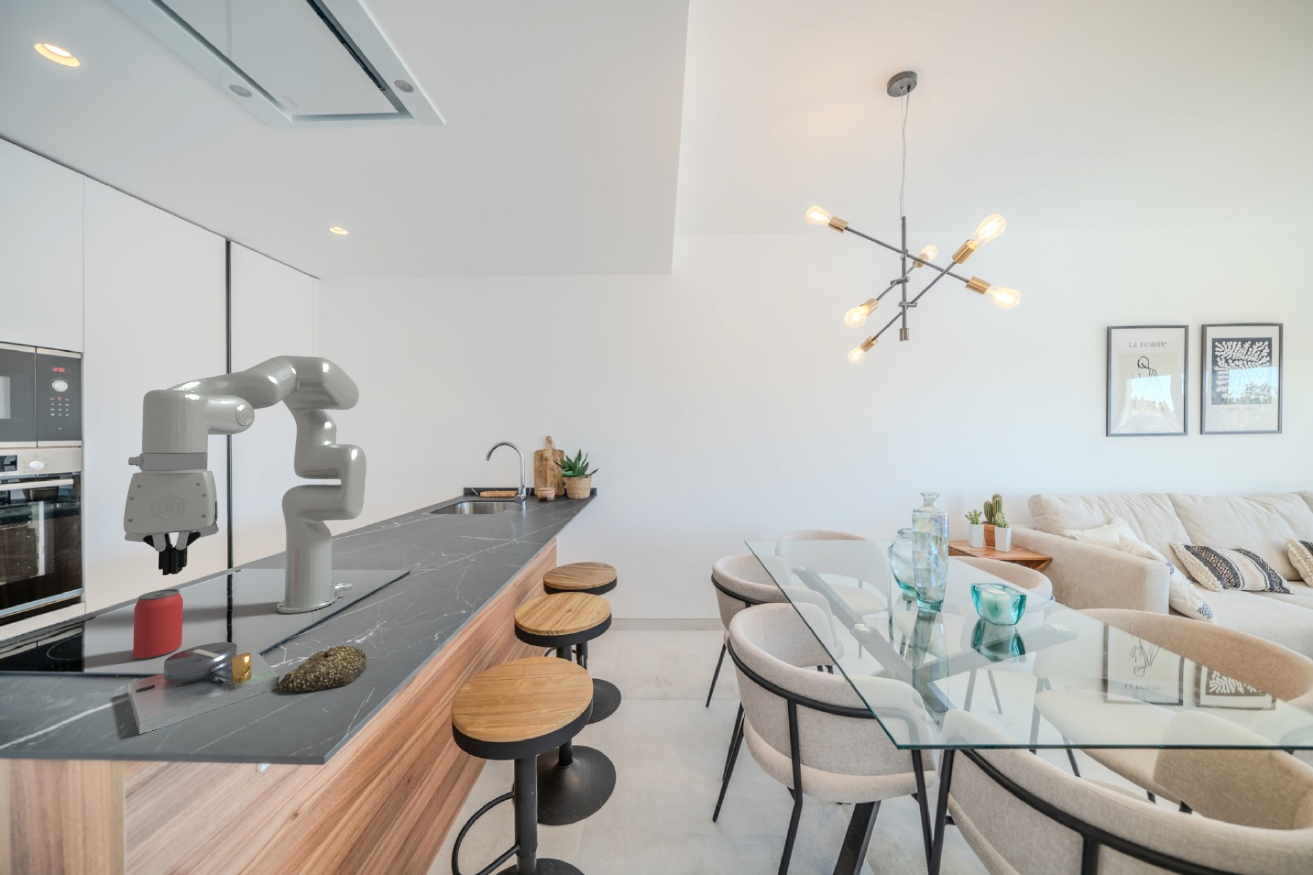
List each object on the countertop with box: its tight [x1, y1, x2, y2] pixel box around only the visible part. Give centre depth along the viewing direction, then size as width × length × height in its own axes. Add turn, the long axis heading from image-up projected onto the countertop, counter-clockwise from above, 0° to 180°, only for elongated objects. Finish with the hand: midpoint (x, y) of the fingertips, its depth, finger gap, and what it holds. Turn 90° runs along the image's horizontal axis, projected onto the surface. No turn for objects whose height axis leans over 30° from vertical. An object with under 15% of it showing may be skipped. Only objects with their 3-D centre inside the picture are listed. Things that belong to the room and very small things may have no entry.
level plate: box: [127, 647, 280, 735], centre depth 76 cm, size 16×17×3 cm
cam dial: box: [163, 641, 251, 684], centre depth 77 cm, size 17×9×4 cm, turn 71°
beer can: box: [132, 588, 184, 660], centre depth 89 cm, size 7×7×12 cm
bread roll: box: [278, 645, 367, 693], centre depth 82 cm, size 13×12×5 cm
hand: (172, 572), depth 74 cm, fingers closed
